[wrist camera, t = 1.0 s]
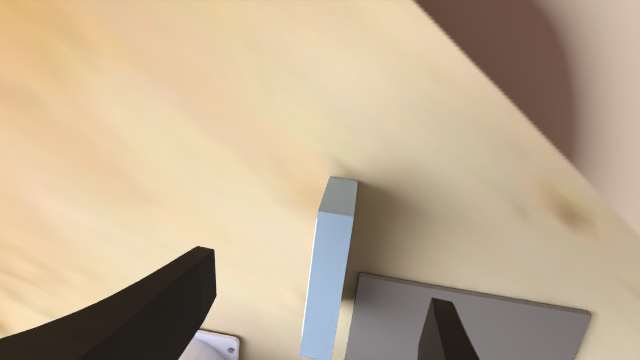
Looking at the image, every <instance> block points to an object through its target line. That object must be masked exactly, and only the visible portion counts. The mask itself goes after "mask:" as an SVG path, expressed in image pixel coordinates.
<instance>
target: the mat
mask: <svg viewBox="0 0 640 360" xmlns="http://www.w3.org/2000/svg"><path fill="white" fill-rule="evenodd" d="M432 297H433V298H438V299H442V300H447V301H451V302H453V304H454V305H455V307H456V310H457V312H458V315H459V317H460V319H461V322H462V324H463V326H464V328H465V330H466V333H467V335H468V337H469V339H470V341H471V343H472V345H473V347H474V349H475V351H476V353H477V355H478V357H479V359H480V360H574V358H575V355H576V353H577V350H578V348H579V345H580V343H581V340H582V338H583V335H584V333H585V330H586V328H587V325H588V323H589V320H590V318H591V315H590V314H589V312H588V311H584V310H578V309H572V308H566V307H561V306H555V305H549V304H543V303H537V302H531V301H525V300H519V299H513V298H507V297H501V296H495V295H489V294H483V293H477V292H471V291H465V290H459V289H454V288H448V287H442V286H436V285H430V284H424V283H418V282H412V281H406V280H400V279H394V278H388V277H382V276H376V275H370V274H364V273H360V274H359V280H358V286H357V292H356V298H355V303H354V309H353V315H352V321H351V327H350V332H349V338H348V344H347V350H346V356H345V360H417V359H418V344H419V340H420V337H421V333H422V330H423V326H424V323H425V319H426V315H427V312H428V308H429V305H430V301H431V298H432Z"/></svg>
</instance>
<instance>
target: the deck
mask: <svg viewBox="0 0 640 360" xmlns="http://www.w3.org/2000/svg"><path fill="white" fill-rule="evenodd" d="M357 184H358V181H356V180H349V179H343V178H336V177H330V178H329V181H328V184H327V187H326V190H325V193H324V195H323V198H322V201H321V204H320V207H319V210H318V215H317V218H316V225H315V233H314V241H313V249H312V257H311V265H310V273H309V281H308V289H307V297H306V305H305V313H304V321H303V329H302V337H301V338H302V343H301V351H300V356H302V357H307V358H312V359H317V360H331V359H332V353H333V347H334V340H335V334H336V328H337V321H338V315H339V309H340V302H341V296H342V290H343V283H344V277H345V271H346V264H347V258H348V252H349V246H350V239H351V233H352V227H353V220H354V213H355V203H356V194H357Z"/></svg>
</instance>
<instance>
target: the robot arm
mask: <svg viewBox="0 0 640 360" xmlns="http://www.w3.org/2000/svg"><path fill="white" fill-rule="evenodd" d="M216 296H217V294H216V274H215V254H214V249H209V248H205V247H200V246H197V247H195V248H193V249H192V250H190V251H188V252H186V253H185V254H183V255H182V256H180V257H178V258H177V259H175V260H173V261H172V262H170V263H168V264H167V265H165V266H163V267H162V268H160V269H158V270H157V271H155V272H153V273H152V274H150V275H148V276H147V277H145V278H143V279H141V280H139V281H138V282H136V283H134V284H132V285H130V286H128V287H126V288H125V289H123V290H121V291H119V292H117V293H115V294H113V295H111V296H109V297H107V298H105V299H103V300H101V301H99V302H97V303H95V304H93V305H90V306H88V307H86V308H84V309H81V310H79V311H77V312H74V313H72V314H69V315H67V316H64V317H62V318H59V319H56V320H54V321H51V322H48V323H46V324H43V325H41V326H38V327H35V328H32V329H29V330H26V331H23V332H20V333H17V334H14V335H11V336H7V337H4V338H1V339H0V360H238V359H239V340H238V339H237V338H236V337H234V336H229V335H223V334H218V333H212V332H207V331H202V330H199V328H200V327H201V325H202V323H203V322H204V320H205V318H206V316H207V314H208V312H209V310H210V308H211V306H212V304H213V302H214V300H215V298H216ZM231 348H233V349H234V350H233V349H231ZM417 360H480V359H479V357H478V355H477V353H476V351H475V349H474V347H473V345H472V343H471V341H470V339H469V337H468V335H467V333H466V330H465V328H464V326H463V324H462V322H461V319H460V317H459V315H458V312H457V310H456V307H455V305H454V304H453V302H451V301H447V300H442V299H438V298H433V297H432V298H431V301H430V305H429V308H428V312H427V315H426V319H425V323H424V326H423V330H422V333H421V337H420V340H419V344H418V359H417Z"/></svg>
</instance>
